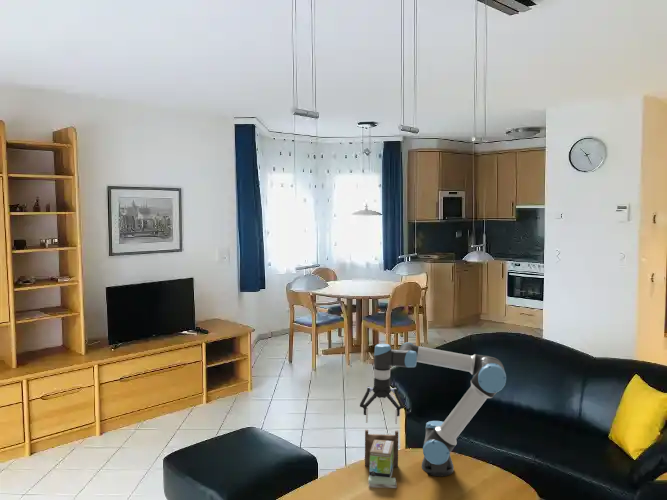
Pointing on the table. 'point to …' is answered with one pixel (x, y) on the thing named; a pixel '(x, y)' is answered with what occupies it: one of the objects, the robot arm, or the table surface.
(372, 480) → the sage painted offcut
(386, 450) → the tea box
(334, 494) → the table surface
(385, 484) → the grey board offcut
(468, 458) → the table surface
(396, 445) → the rack
